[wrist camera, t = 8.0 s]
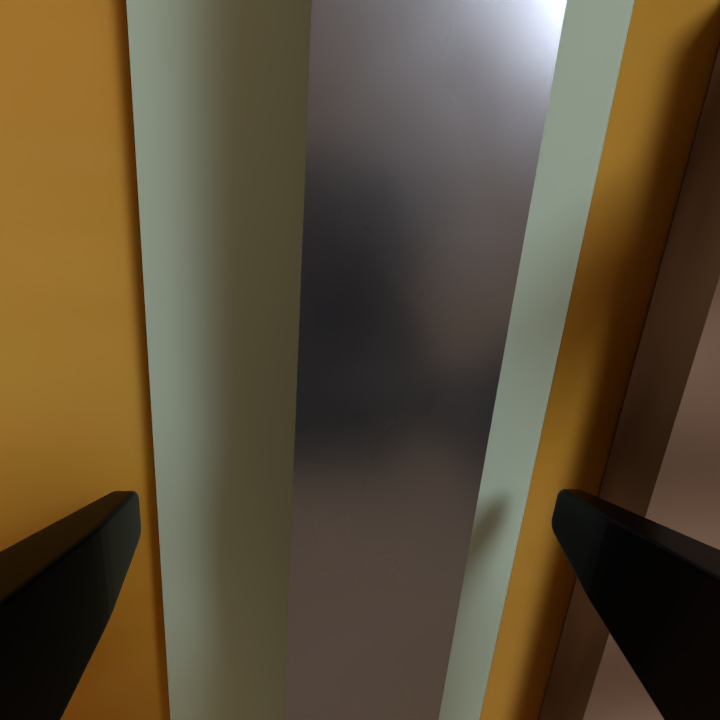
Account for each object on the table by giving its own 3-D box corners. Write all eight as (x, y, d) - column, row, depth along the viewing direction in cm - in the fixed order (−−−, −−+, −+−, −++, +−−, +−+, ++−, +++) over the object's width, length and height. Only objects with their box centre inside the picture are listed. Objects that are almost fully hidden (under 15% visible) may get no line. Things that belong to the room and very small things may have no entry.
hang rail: (375, 807, 13) (394, 965, 10) (280, 818, 13) (273, 987, 10) (503, -165, 7) (650, -469, 4) (321, -208, 6) (333, -585, 3)
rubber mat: (452, 798, 14) (457, 818, 14) (183, 830, 13) (178, 852, 12) (652, -170, 7) (677, -198, 7) (120, -307, 6) (104, -355, 6)
